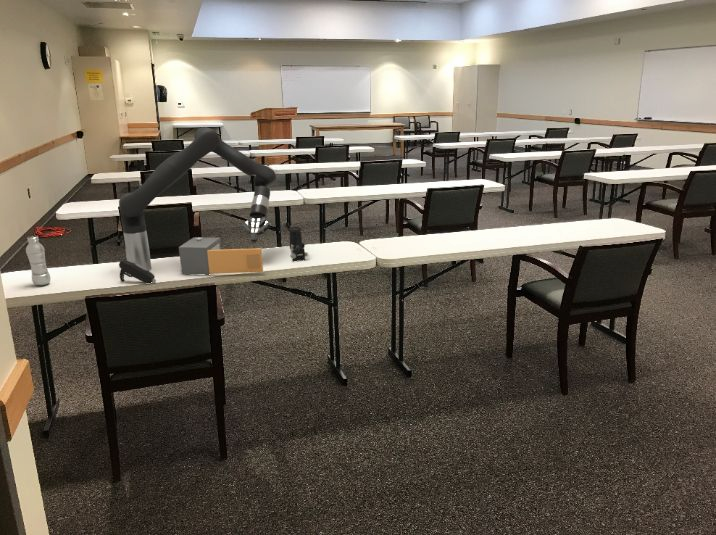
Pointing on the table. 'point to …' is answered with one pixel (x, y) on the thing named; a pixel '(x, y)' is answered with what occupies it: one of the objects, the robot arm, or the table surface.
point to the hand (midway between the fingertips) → (253, 241)
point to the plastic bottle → (37, 261)
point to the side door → (235, 261)
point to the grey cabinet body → (197, 254)
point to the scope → (296, 244)
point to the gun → (135, 272)
